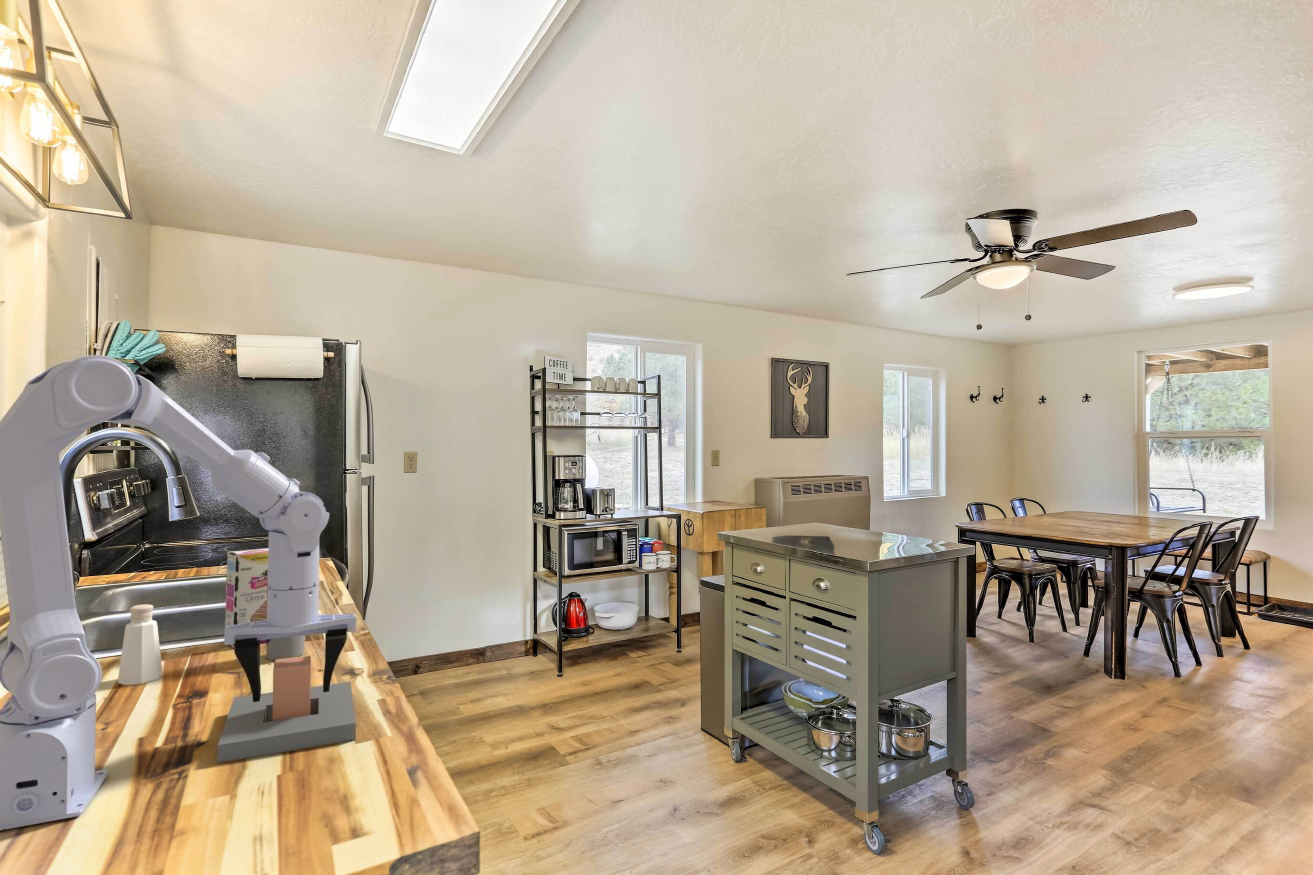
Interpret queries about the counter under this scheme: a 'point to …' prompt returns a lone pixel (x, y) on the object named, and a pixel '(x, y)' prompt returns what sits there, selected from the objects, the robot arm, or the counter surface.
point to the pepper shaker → (140, 648)
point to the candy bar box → (246, 587)
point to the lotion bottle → (284, 645)
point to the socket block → (287, 724)
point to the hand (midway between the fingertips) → (292, 694)
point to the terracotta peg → (291, 687)
